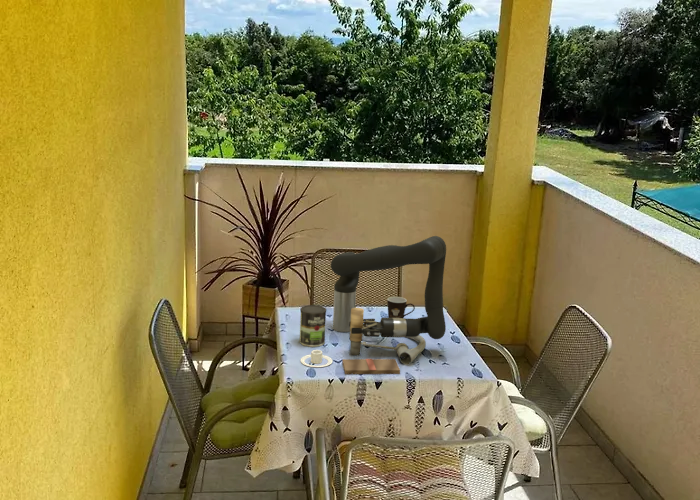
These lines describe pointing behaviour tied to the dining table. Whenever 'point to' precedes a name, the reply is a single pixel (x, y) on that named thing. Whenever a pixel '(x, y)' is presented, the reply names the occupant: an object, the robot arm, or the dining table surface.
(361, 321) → the tan grey cylinder
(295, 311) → the dining table surface
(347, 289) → the robot arm
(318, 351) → the candle holder
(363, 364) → the board
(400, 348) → the faucet
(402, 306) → the coffee mug
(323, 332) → the coffee can
